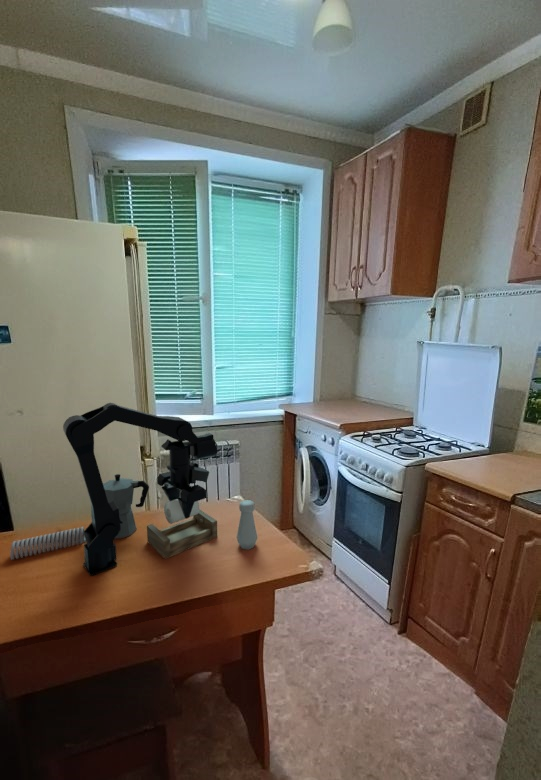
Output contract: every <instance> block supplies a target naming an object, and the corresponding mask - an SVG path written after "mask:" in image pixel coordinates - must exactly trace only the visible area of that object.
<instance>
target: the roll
mask: <svg viewBox="0 0 541 780" xmlns="http://www.w3.org/2000/svg"><path fill="white" fill-rule="evenodd" d="M199 509H200V503H199V501H196V502H194V505H193V507H192V511H191V514H190V517H189V518H193V516H194V515H197V514H198V513H199ZM163 511H164V515H165V519H166V521H167V522H168V524H170V525H171V524H172V525H173V524H175V523H177V522H180V521H181V522H182V521H183V520H186V518H185V517H184V514H183V512H182V509H181V506H180V503H179V501H178V499H176V500H172V501H169V500H168V501H166V502H165V503H164V505H163Z"/></svg>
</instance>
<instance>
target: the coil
mask: <svg viewBox="0 0 541 780" xmlns="http://www.w3.org/2000/svg"><path fill="white" fill-rule="evenodd" d="M84 531H85V527H84V526H81V527H79V526H78V527H77V528H75V527H74V528H69V529H65V530H61V531H57V532H52V533H48V534H44V535H43V534H40V535H39V536H38V535H36V536H34V537H33V536H32V537H28V538H23V539H18V540H17V541H16V540H14V541H12V543H11V544H10V552H9V553H10V556H9V557H10V560H11V561H13V560H15V559H16V560H18V559H21V558H22V559H23V558H24V557H25V558H27V557H28V556H30V557H32V556H33V555H37V553H38V554H42V553H46V552H50V551H53V552H54V550H59V549H60V550H61V549H63V548H64V549H65V548H66V547H71V546H72V547H73V546H75V545H77V546H79V545H80V544H81V545H82V544H83V543H84V544H87V542H86V539H85V536H84V533H83V532H84ZM23 556H24V557H23Z"/></svg>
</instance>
